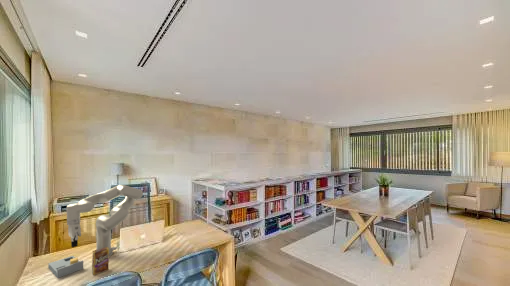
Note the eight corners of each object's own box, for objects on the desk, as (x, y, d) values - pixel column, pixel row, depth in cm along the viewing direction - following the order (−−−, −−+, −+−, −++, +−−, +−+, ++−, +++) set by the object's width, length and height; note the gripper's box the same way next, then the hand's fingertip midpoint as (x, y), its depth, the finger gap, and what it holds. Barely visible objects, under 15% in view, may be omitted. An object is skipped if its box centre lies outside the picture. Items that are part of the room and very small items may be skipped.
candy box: (93, 275, 150) (94, 252, 150) (91, 273, 152) (92, 250, 153) (108, 270, 156) (109, 248, 157) (106, 268, 159) (107, 246, 159)
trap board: (72, 259, 170) (72, 252, 170) (83, 268, 158) (83, 260, 158) (48, 267, 159) (48, 259, 159) (57, 278, 146) (57, 269, 147)
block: (77, 263, 160) (77, 257, 160) (77, 265, 157) (78, 259, 157) (70, 265, 157) (70, 259, 157) (70, 267, 154) (70, 261, 154)
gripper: (84, 221, 160) (84, 246, 160) (76, 217, 168) (76, 241, 169) (71, 225, 154) (71, 251, 154) (63, 220, 162) (64, 245, 162)
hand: (74, 246), depth 161 cm, fingers closed
